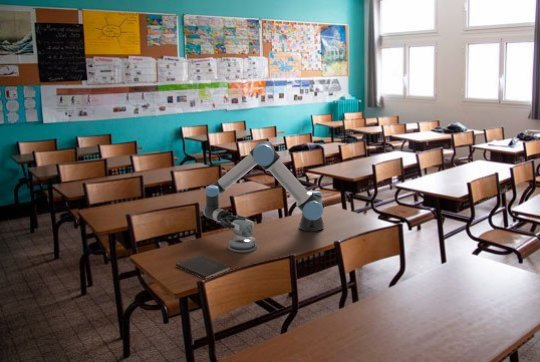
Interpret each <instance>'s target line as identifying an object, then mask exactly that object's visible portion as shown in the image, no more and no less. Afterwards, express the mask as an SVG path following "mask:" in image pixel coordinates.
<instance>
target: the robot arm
mask: <svg viewBox="0 0 540 362" xmlns="http://www.w3.org/2000/svg"><path fill="white" fill-rule="evenodd" d="M257 165H259V166H261V168H262V169H263V170H264V171H268V172H270V174H271V175H272V176H273V177H274V178H275V180H277V181H278V182H279V184H280V185H281V186H282V187H283V188H284V189H285V190H286V191H287V193H288V194H289V195H290V196H291V198H293V199H294V200H295V202H296V206H297V207H298V209H299V210H300V211H301V218H300V221H299V223H298V228H299V230H301V229H302V230H301V231H303V230H305V231H304V232H308V231H316V232H319V231H318V230H321V229H323V228H324V229H325V224H324V220H323V217H322V216H323V214H324V206H323V201H322V199H323V193H322V191H319V190H307V189H306V188H305V187H304V185H303V184H302V183H301V182H300V181H299V180H298V179H297V178H296V177H295V176H294V174H293V173H292V172H291V170H289V169H288V167H287V166H286V165H285V164H284V163H283V162H282V161H281V156H280V154H278V152H277V151H276V150H275V146H274V145H273V143H272V142H270V141H268V140H261V141H259V142H258V143H257V144H256V145H255V146H254V147H253V148H252V149H251V150H250V151H249V153H248V155H246V156H245V157H244V158H243V159H242V160H241V161H239V162H238V163H237V164H236V165H235V166H233V167H232V168H231V169H230V170H229V171H227V172H226V173H225V174H224V175H223V176H221V177H220V178H219V179H218V180H216V181H215V182H214V183H212V184H211V185H208V186H206V187H205V192H204V193H205V203H206V204H205V206H204V207H203V209H202V213H203V215H204V216H205V217H206V218H208V219H210V220H213V221H215V222H217V223H218V225H221V226H222V227H224V228H225V229H227V228H228V230H232V228H233V229H236V230H238V231H239V225H237V224H234V223H233V221H235V220H245V221H247V222H249V223H250V224H251V225H252V228H254V221H252V220H250V217H247V216H243V215H239V214H236V215H233V214H231V212H230V211H228V210H224V209H223V208H220V196H221V195H222V194H223V193H224V192H225V191H227V190H228V189H229V188H230V187H232V186H233V184H235V183H237V182H238V181H239V180H240V179H241V178H243V176H245V175H246V174H247V173H248V172H249V171H251V170H252V169H253V168H254V167H256V166H257ZM324 229H323V230H324ZM321 231H322V230H321Z"/></svg>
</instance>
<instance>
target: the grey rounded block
mask: <svg viewBox="0 0 540 362" xmlns="http://www.w3.org/2000/svg"><path fill="white" fill-rule="evenodd" d="M232 223H234V224H237V225H239V231H238V230H236V229H233V228H231V230H232V232H233V234H234V235H236V236H242V237H250V236H251V237H252V235H253V232H254V231H253V230H254V229H253V228H254V227H252V225H251V224H250V223H249V222H247V221H245V220H235V221H233V222H232Z"/></svg>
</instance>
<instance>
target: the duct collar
mask: <svg viewBox="0 0 540 362" xmlns="http://www.w3.org/2000/svg"><path fill="white" fill-rule="evenodd" d="M227 249H228V251H229V252H231V253H234V254H235V253H237V254H249V253H252V252H255V251H256V250H257V249H258V243H256V238H255V237H253V236H252V235H251V236H250V237H242V236H239V235H236V236H233V237H231V238H230V239H229V244H228V245H227Z"/></svg>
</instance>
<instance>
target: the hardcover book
mask: <svg viewBox="0 0 540 362" xmlns="http://www.w3.org/2000/svg"><path fill="white" fill-rule="evenodd" d="M176 266H177V267H179V268H178V269H180V268H182V269H184V270H186V271H185V272H187V271H189V272H191V273H193V274H196V275H198V276H200V277H202V278H204V279H203V280H205V279H206V278H208V279H210V278H212V277H211V276H213V277H215V276H217V275H220V274H223V273H225V272H228V271H230V268H231V266H230V265H227V264H225V263H223V262H220V261H218V260H214V259H212V258H211V257H207V256H204V255H203V254H199V255H196V256H193V257H189V258H187V259H185V260H181V261H179V262H176V263H175V267H176ZM177 267H176V268H177ZM182 269H181V270H182ZM184 270H183V271H184ZM189 272H188V273H189ZM191 273H190V274H191ZM193 274H192V275H193ZM196 275H195V276H196ZM198 276H197V277H198ZM200 277H199V278H200ZM209 277H210V278H209ZM202 278H201V279H202ZM206 280H207V279H206Z"/></svg>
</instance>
